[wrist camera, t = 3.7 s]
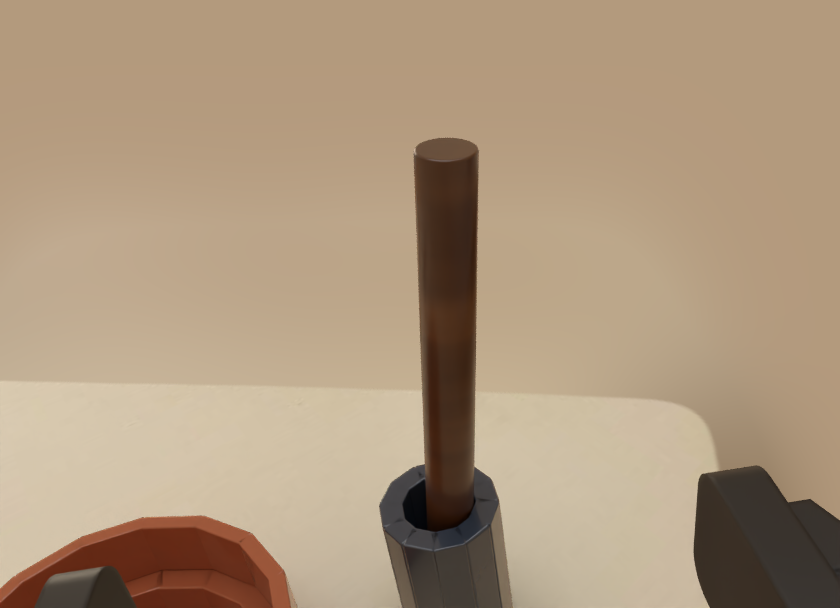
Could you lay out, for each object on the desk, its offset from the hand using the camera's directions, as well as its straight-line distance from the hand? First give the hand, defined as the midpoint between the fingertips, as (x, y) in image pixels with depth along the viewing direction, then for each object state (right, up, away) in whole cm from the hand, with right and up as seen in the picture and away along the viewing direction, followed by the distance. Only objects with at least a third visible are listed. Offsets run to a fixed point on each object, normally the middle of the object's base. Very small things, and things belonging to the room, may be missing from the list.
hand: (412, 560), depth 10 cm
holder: (+2, -9, +18) cm, 21 cm away
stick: (+1, -9, +18) cm, 20 cm away
